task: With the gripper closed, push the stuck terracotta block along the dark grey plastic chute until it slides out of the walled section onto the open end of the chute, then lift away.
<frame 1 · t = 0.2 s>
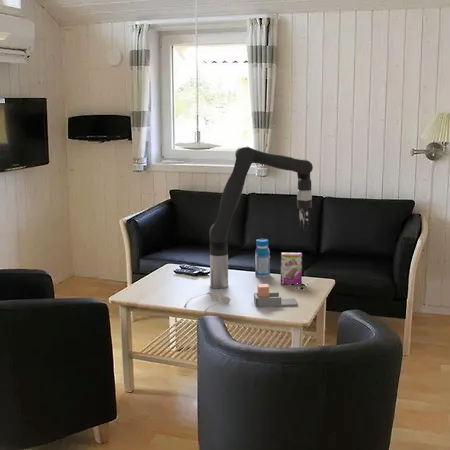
hand: (304, 229, 349), 29 cm above the table, tool pointing down, fingers open, 8 cm apart
eyeglasses: (206, 307, 320), on the table
chute: (275, 303, 321), on the table
beverage bottle: (262, 275, 371), on the table
block: (263, 293, 320), point 5 cm above the table, slide at 0.0 cm
candy bar box: (291, 284, 355), on the table
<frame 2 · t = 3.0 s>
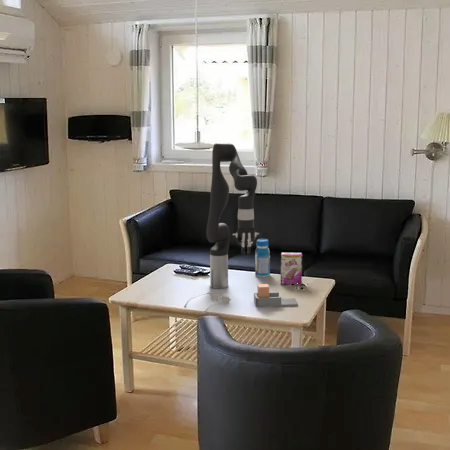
hand: (246, 254, 315), 25 cm above the table, tool pointing down, fingers closed
nothing on the table moved.
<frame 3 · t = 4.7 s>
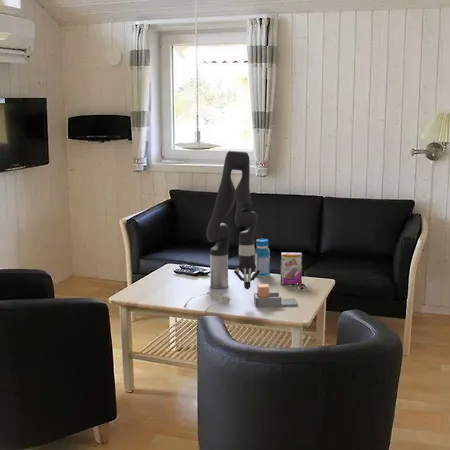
hand: (247, 288, 319), 8 cm above the table, tool pointing down, fingers closed
nothing on the table moved.
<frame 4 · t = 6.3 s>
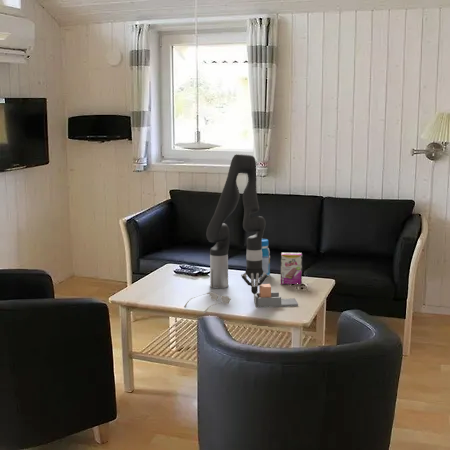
hand: (254, 293, 319), 6 cm above the table, tool pointing down, fingers closed
block: (265, 293, 320), point 5 cm above the table, slide at 0.9 cm, touching gripper
everything else where it was.
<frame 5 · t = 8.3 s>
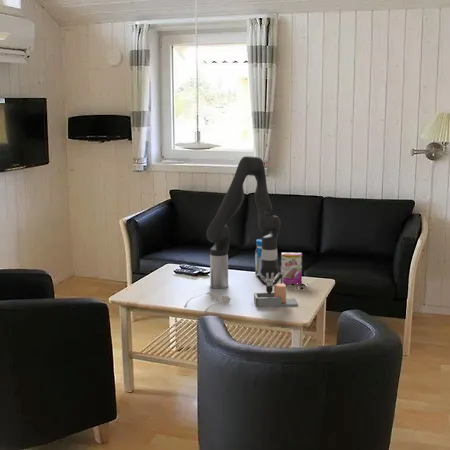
hand: (269, 293, 320), 6 cm above the table, tool pointing down, fingers closed
block: (280, 293, 320), point 5 cm above the table, slide at 8.0 cm, touching gripper
everything else where it was.
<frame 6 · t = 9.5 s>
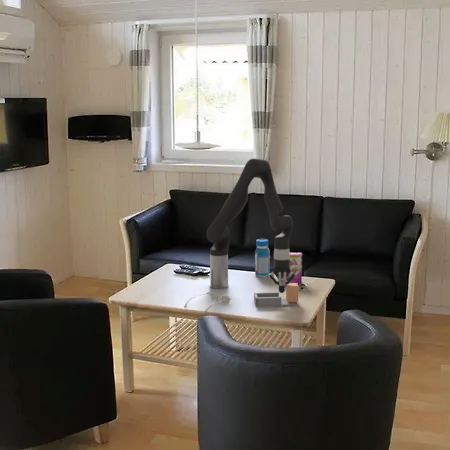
hand: (281, 292, 320), 6 cm above the table, tool pointing down, fingers closed
block: (292, 292, 321), point 5 cm above the table, slide at 14.0 cm, touching gripper
everything else where it was.
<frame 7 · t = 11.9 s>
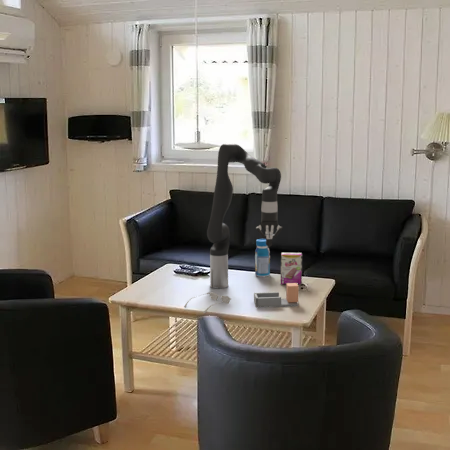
hand: (269, 246, 318), 28 cm above the table, tool pointing down, fingers closed
block: (292, 292, 321), point 5 cm above the table, slide at 14.0 cm
everything else where it was.
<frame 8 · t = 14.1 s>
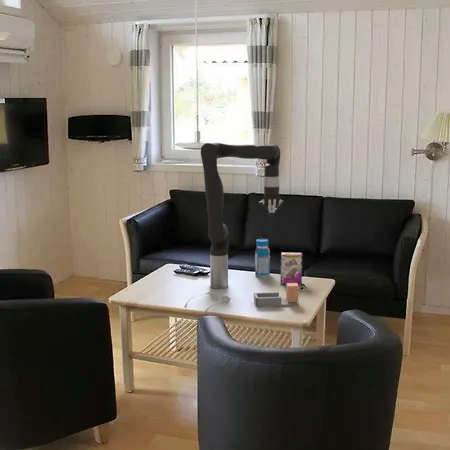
hand: (271, 219, 335), 37 cm above the table, tool pointing down, fingers closed
nothing on the table moved.
at the end: block slide at 14.0 cm; block touching nothing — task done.
